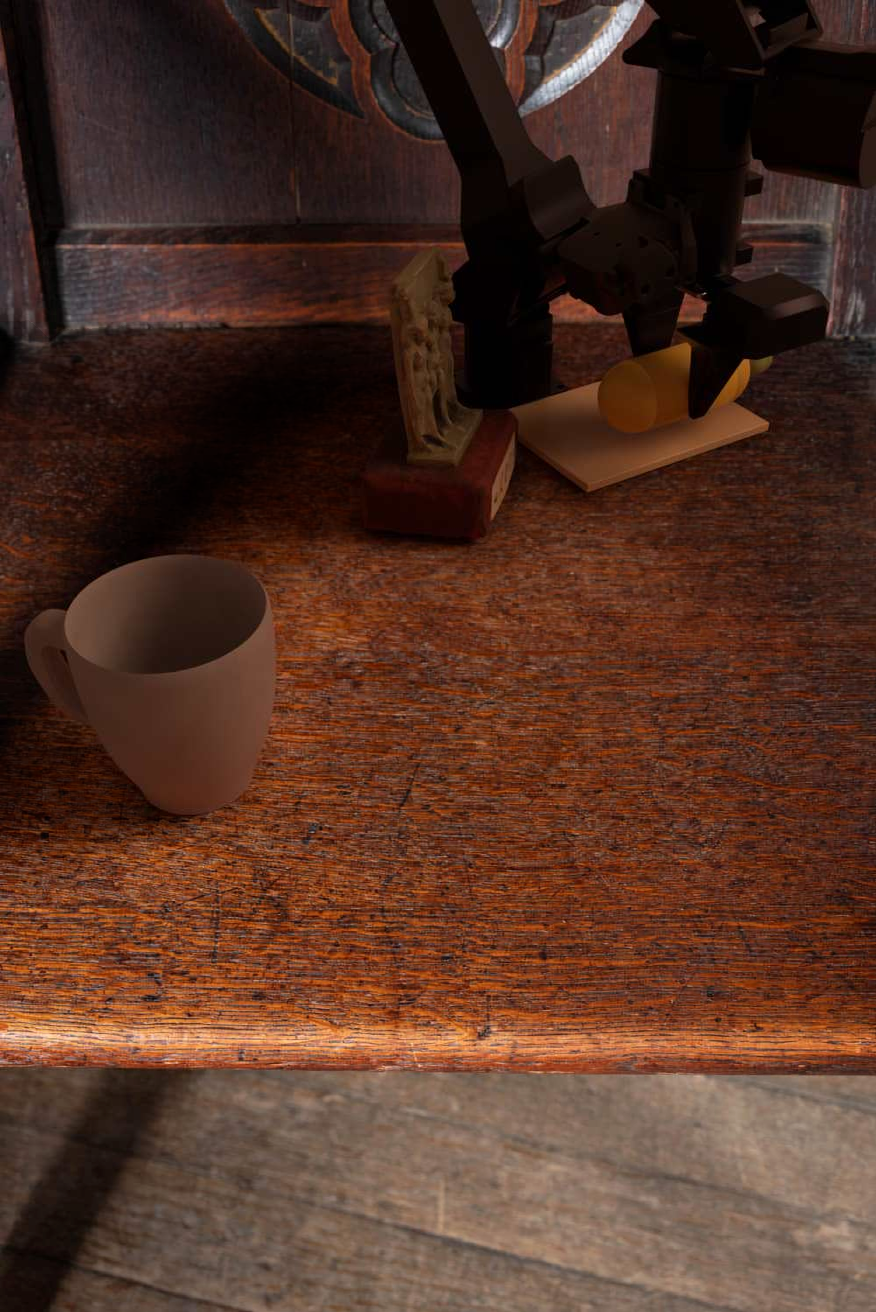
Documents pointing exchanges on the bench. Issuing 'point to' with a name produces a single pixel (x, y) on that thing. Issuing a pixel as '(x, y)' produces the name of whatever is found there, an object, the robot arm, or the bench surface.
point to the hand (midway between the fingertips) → (672, 402)
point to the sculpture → (434, 424)
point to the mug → (167, 674)
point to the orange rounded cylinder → (660, 389)
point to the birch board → (620, 437)
